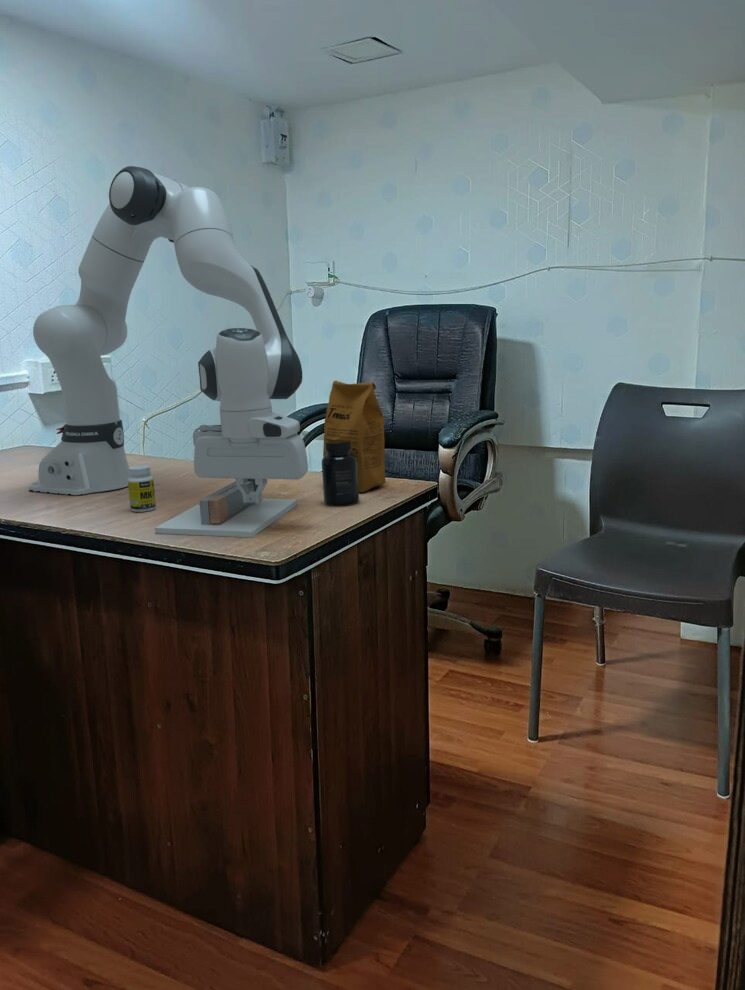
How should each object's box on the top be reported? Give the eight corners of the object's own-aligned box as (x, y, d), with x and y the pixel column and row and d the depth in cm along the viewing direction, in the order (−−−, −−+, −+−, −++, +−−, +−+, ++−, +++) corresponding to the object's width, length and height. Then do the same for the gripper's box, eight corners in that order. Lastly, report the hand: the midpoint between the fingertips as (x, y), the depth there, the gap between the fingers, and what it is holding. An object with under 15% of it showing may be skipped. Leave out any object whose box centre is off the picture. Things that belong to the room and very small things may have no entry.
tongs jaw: (210, 523, 139) (208, 500, 138) (246, 501, 153) (245, 480, 152) (219, 523, 138) (217, 500, 137) (255, 501, 153) (253, 480, 152)
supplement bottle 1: (142, 513, 152) (138, 470, 150) (125, 511, 154) (120, 468, 152) (161, 507, 156) (157, 465, 154) (144, 505, 158) (140, 463, 156)
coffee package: (350, 479, 175) (345, 377, 170) (392, 486, 167) (389, 380, 162) (317, 487, 168) (311, 382, 163) (359, 495, 160) (355, 385, 155)
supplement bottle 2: (363, 498, 157) (361, 438, 154) (351, 507, 151) (349, 444, 148) (331, 497, 159) (328, 437, 157) (318, 505, 153) (314, 443, 150)
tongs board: (155, 533, 138) (152, 502, 137) (211, 502, 159) (209, 475, 158) (252, 537, 134) (249, 505, 132) (297, 504, 154) (295, 476, 153)
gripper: (183, 427, 138) (191, 505, 141) (295, 427, 132) (300, 508, 136) (200, 422, 143) (207, 497, 147) (308, 421, 138) (313, 499, 141)
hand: (253, 502), depth 141 cm, fingers closed
